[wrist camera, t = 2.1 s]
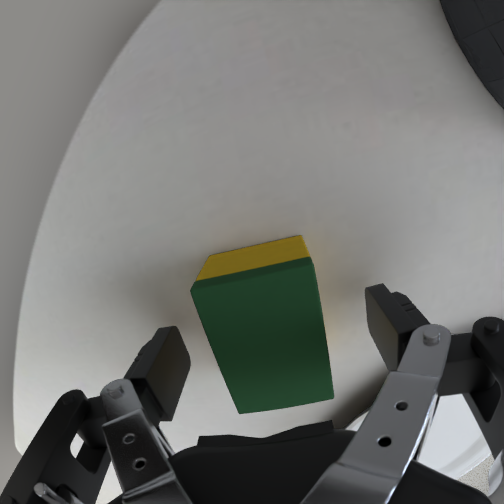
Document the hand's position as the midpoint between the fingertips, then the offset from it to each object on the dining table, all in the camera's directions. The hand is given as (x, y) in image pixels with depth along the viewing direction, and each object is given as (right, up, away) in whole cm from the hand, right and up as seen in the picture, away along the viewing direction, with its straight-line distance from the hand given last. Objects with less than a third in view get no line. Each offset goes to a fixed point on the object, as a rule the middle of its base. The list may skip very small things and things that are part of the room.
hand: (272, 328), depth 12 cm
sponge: (0, +1, +1) cm, 2 cm away
